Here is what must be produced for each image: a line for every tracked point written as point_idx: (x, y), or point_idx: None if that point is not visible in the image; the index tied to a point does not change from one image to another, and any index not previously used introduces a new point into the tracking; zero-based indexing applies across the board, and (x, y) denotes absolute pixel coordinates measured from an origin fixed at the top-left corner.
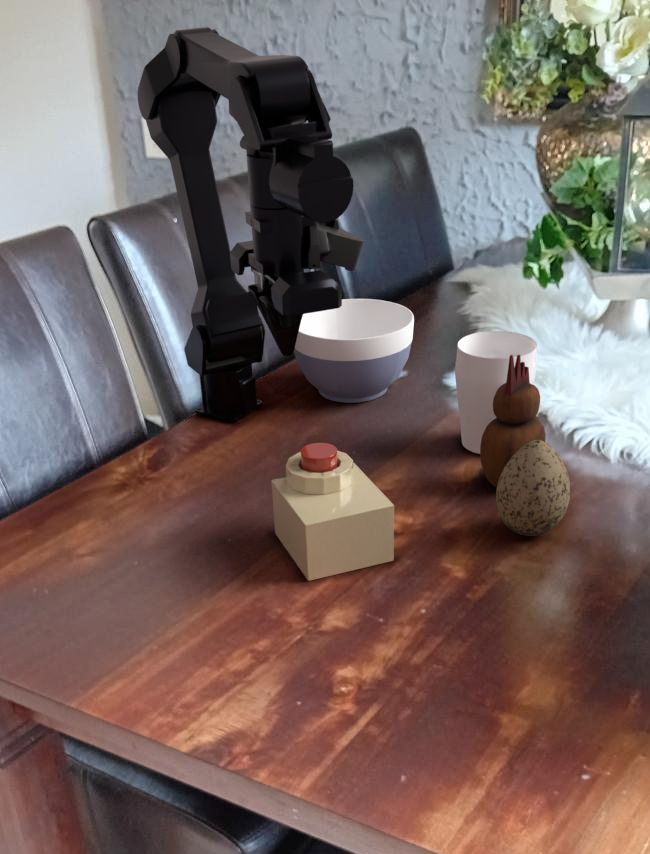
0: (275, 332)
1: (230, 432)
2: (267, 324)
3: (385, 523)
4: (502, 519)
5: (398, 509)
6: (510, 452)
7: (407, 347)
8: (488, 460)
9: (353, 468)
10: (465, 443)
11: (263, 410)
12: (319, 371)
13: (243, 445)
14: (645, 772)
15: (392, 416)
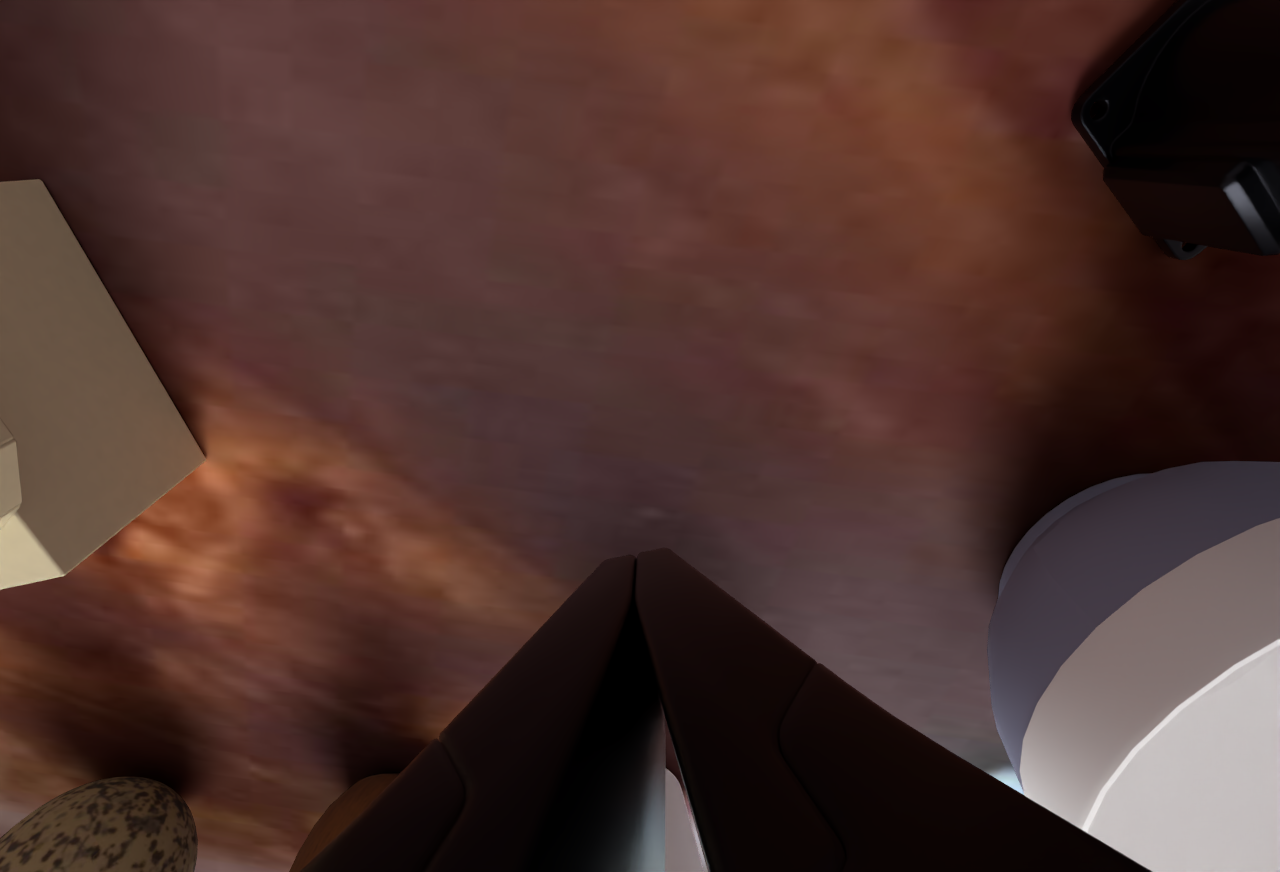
0: (452, 727)
1: (988, 82)
2: (771, 674)
3: None
4: (79, 791)
5: (257, 572)
6: None
7: None
8: (325, 840)
9: (2, 568)
10: None
11: (1124, 256)
12: (1121, 540)
13: (836, 131)
14: None
15: (861, 638)
